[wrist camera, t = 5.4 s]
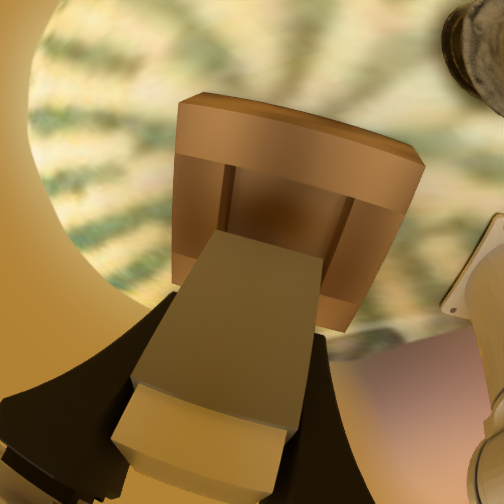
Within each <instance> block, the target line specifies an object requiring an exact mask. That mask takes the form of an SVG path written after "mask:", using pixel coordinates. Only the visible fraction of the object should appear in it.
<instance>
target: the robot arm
mask: <svg viewBox="0 0 504 504" xmlns="http://www.w3.org/2000/svg"><path fill="white" fill-rule="evenodd" d="M503 226H504V215H502V214H498V215H496V216H495V217H494V218H493V220H492V222H491V224H490V226H489V228H488V229H487V231H486V233H485V235H484V237H483V239H482V240H481V242H480V244H479V246H478V247H477V249H476V251H475V252H474V254H473V256H472V257H471V259H470V261H469V262H468V264H467V266H466V267H465V269H464V270H463V272H462V274H461V275H460V277H459V278H458V280H457V281H456V283H455V284H454V286H453V287H452V289H451V290H450V292H449V293H448V295H447V296H446V298H445V299H444V301H443V302H442V304H441V311H442V312H443V313H445V314H448V315H452V316H456V317H460V318H463V319H467V320H471V322H472V326H473V329H474V333H475V336H476V340H477V344H478V348H479V352H480V355H481V360H482V364H483V368H484V373H485V377H486V383H487V388H488V393H489V399H490V404H491V410H492V413H491V415H490V416H489V417H488V418H487V419H486V420H485V421H484V431H485V439H484V440H483V441H481V443H480V444H479V445H478V447H477V448H476V449H475V451H474V453H473V455H472V457H471V460H470V464H469V467H468V473H467V495H468V499H469V503H470V504H504V227H503ZM176 294H177V292H174V291H173V292H171V293H170V294H169V295H168V296H167V297H166V298H165V299H164V300H163V301H161V302H160V303H159V304H158V305H157V306H156V307H155V308H154V309H153V310H152V311H151V312H150V313H148V315H146V316H145V317H144V318H143V319H142V320H140V321H139V322H138V323H137V324H136V325H134V326H133V327H132V328H131V329H130V330H128V331H127V332H126V333H125V334H123V335H122V336H121V337H120V338H118V339H117V340H116V341H114V342H113V343H112V344H110V345H109V346H108V347H106V348H105V349H103V350H102V351H100V352H99V353H98V354H96V355H95V356H93V357H91V358H90V359H88V360H87V361H85V362H84V363H82V364H80V365H78V366H77V367H75V368H73V369H71V370H70V371H68V372H66V373H64V374H62V375H61V376H58V377H56V378H54V379H52V380H50V381H48V382H45V383H43V384H41V385H39V386H37V387H34V388H32V389H29V390H27V391H24V392H21V393H18V394H15V395H12V396H10V397H6V398H4V399H3V400H2V401H1V402H0V440H1V441H2V442H3V443H5V444H6V445H7V448H5V447H3V446H2V445H1V444H0V504H93V501H94V499H96V500H98V501H99V502H103V501H104V499H105V497H107V498H109V499H115V498H118V497H120V495H121V491H122V488H123V485H124V481H125V478H126V475H127V472H128V469H129V466H130V464H129V462H128V461H127V460H126V458H125V457H124V456H123V455H122V453H121V452H120V451H119V449H118V448H117V447H116V445H115V444H114V443H113V441H112V440H111V437H112V435H113V433H114V431H115V429H116V427H117V425H118V423H119V421H120V419H121V417H122V415H123V413H124V411H125V409H126V407H127V405H128V403H129V401H130V399H131V397H132V395H133V393H134V391H135V390H134V387H133V384H132V381H131V377H130V376H131V374H132V372H133V370H134V368H135V366H136V365H137V363H138V361H139V359H140V357H141V356H142V354H143V352H144V350H145V348H146V347H147V345H148V343H149V341H150V340H151V338H152V336H153V334H154V332H155V331H156V329H157V327H158V325H159V324H160V322H161V320H162V318H163V317H164V315H165V313H166V312H167V310H168V308H169V306H170V305H171V303H172V301H173V299H174V298H175V296H176ZM452 308H454V309H452ZM259 504H375V502H374V500H373V498H372V496H371V494H370V492H369V490H368V488H367V486H366V484H365V481H364V479H363V477H362V475H361V472H360V470H359V468H358V466H357V464H356V461H355V458H354V456H353V453H352V451H351V448H350V445H349V442H348V439H347V436H346V433H345V430H344V427H343V423H342V420H341V417H340V412H339V409H338V405H337V401H336V397H335V392H334V388H333V383H332V378H331V373H330V367H329V361H328V354H327V346H326V338H325V336H324V335H321V334H317V333H314V337H313V344H312V351H311V357H310V364H309V370H308V376H307V382H306V388H305V394H304V399H303V405H302V410H301V416H300V421H299V426H298V430H297V431H296V432H295V434H294V435H293V436H292V437H291V438H290V439H289V441H288V442H287V443H286V444H285V445H284V447H283V451H282V456H281V460H280V464H279V468H278V473H277V477H276V481H275V485H274V489H273V493H272V494H270V495H269V496H267V497H265V498H264V499H262V500H260V501H259Z"/></svg>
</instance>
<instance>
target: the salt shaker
mask: <svg viewBox="0 0 504 504" xmlns="http://www.w3.org/2000/svg"><path fill="white" fill-rule="evenodd" d="M441 37H442V51H443V55H444V58H445V62H446V64H447V66H448V68H449V70H450V72H451V74H452V76H453V77H454V78H455V80H456V81H457V82H458V84H459V85H460V86H461V87H462V88H463V89H465V90H466V91H467V92H468V93H469V94H471V95H473V96H475V97H477V98H479V99H480V100H483V101H484V102H485V103H486V104H487V105H488V106H489V107H490V108H491V109H492V110H494V111H495V112H496V113H497V114H498V115H500V116H502V117H504V0H475V1H474V2H473V3H471V4H467V5H464V6H461V7H459V8H457V9H456V10H455V11H453V12H452V13H451V14H450V15H449V17H448V18H447V20H446V22H445V24H444V27H443V32H442V36H441Z"/></svg>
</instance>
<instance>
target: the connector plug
mask: <svg viewBox="0 0 504 504" xmlns="http://www.w3.org/2000/svg"><path fill="white" fill-rule="evenodd" d="M322 266H323V259H321V258H317V257H314V256H310V255H307V254H303V253H299V252H296V251H292V250H289V249H285V248H281V247H278V246H274V245H271V244H267V243H263V242H260V241H256V240H252V239H249V238H245V237H241V236H238V235H234V234H230V233H227V232H223V231H219V230H215V231H214V233H213V234H212V236H211V238H210V239H209V241H208V243H207V244H206V246H205V247H204V249H203V251H202V252H201V254H200V256H199V257H198V259H197V261H196V262H195V264H194V266H193V267H192V269H191V271H190V272H189V274H188V276H187V277H186V279H185V281H184V282H183V284H182V286H181V288H180V289H179V291H178V293H177V294H176V296H175V298H174V299H173V301H172V303H171V305H170V306H169V308H168V310H167V312H166V313H165V315H164V317H163V318H162V320H161V322H160V324H159V325H158V327H157V329H156V331H155V332H154V334H153V336H152V338H151V340H150V341H149V343H148V345H147V347H146V348H145V350H144V352H143V354H142V356H141V357H140V359H139V361H138V363H137V365H136V366H135V368H134V370H133V372H132V374H131V376H130V377H131V381H132V384H133V387H134V390H135V391H134V393H133V395H132V397H131V399H130V401H129V403H128V405H127V407H126V409H125V411H124V413H123V415H122V417H121V419H120V421H119V423H118V425H117V427H116V429H115V431H114V433H113V435H112V437H111V440H112V441H113V443H114V444H115V445H116V447H117V448H118V449H119V451H120V452H121V453H122V455H123V456H124V457H125V458H126V460H127V461H128V462H129V464H130V465H131V466H132V467H133V468H134V470H135V471H136V472H139V473H141V474H143V475H146V476H148V477H151V478H153V479H156V480H158V481H161V482H163V483H166V484H169V485H171V486H174V487H177V488H180V489H183V490H186V491H189V492H192V493H195V494H198V495H201V496H205V497H208V498H211V499H215V500H218V501H222V502H226V503H229V504H255V503H257V502H258V501H260V500H262V499H264V498H265V497H267V496H269V495H270V494H272V493H273V489H274V485H275V481H276V477H277V473H278V468H279V464H280V460H281V456H282V451H283V447H284V445H285V444H286V443H287V442H288V441H289V439H290V438H291V437H292V436H293V435H294V434H295V432H296V431H297V430H298V426H299V421H300V416H301V410H302V405H303V399H304V394H305V388H306V382H307V376H308V370H309V364H310V357H311V351H312V344H313V337H314V330H315V323H316V316H317V308H318V300H319V292H320V284H321V275H322Z"/></svg>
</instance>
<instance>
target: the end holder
mask: <svg viewBox="0 0 504 504" xmlns="http://www.w3.org/2000/svg"><path fill="white" fill-rule="evenodd" d="M425 167H426V166H425V165H424V163H423V162H422V160H421V159H420V157H419V156H418V154H417V153H416V151H415V150H414V148H413V147H412V146H411V145H408V144H405V143H403V142H400V141H397V140H394V139H392V138H389V137H386V136H383V135H380V134H377V133H374V132H371V131H368V130H365V129H362V128H359V127H355V126H352V125H349V124H346V123H342V122H339V121H335V120H332V119H328V118H325V117H321V116H317V115H314V114H310V113H306V112H302V111H298V110H294V109H289V108H285V107H281V106H276V105H272V104H267V103H262V102H258V101H253V100H247V99H242V98H237V97H231V96H225V95H219V94H213V93H206V92H203V93H200V94H198V95H195V96H193V97H190V98H188V99H186V100H183V101H181V102H179V104H178V115H177V128H176V142H175V158H174V178H173V204H172V283H173V284H176V285H179V286H182V284H183V282H184V281H185V279H186V277H187V276H188V274H189V272H190V271H191V269H192V267H193V266H194V264H195V262H196V261H197V259H198V257H199V256H200V254H201V252H202V251H203V249H204V247H205V246H206V244H207V243H208V241H209V239H210V238H211V236H212V234H213V233H214V231H215V230H219V231H223V232H227V233H230V234H234V235H238V236H241V237H245V238H249V239H252V240H256V241H260V242H263V243H267V244H271V245H274V246H278V247H281V248H285V249H289V250H292V251H296V252H299V253H303V254H307V255H310V256H314V257H317V258H321V259H323V266H322V275H321V284H320V292H319V300H318V308H317V316H316V323H315V325H316V326H320V327H324V328H328V329H331V330H335V331H339V332H343V333H345V331H346V330H347V328H348V326H349V325H350V323H351V321H352V319H353V318H354V316H355V314H356V312H357V310H358V309H359V307H360V305H361V303H362V301H363V300H364V298H365V296H366V294H367V292H368V290H369V288H370V286H371V285H372V283H373V281H374V279H375V277H376V275H377V273H378V271H379V269H380V267H381V265H382V263H383V261H384V259H385V257H386V255H387V253H388V251H389V249H390V247H391V245H392V243H393V241H394V239H395V236H396V234H397V232H398V230H399V228H400V226H401V223H402V221H403V219H404V217H405V215H406V212H407V210H408V208H409V205H410V203H411V201H412V198H413V196H414V194H415V191H416V189H417V187H418V184H419V182H420V179H421V177H422V174H423V172H424V169H425Z"/></svg>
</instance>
